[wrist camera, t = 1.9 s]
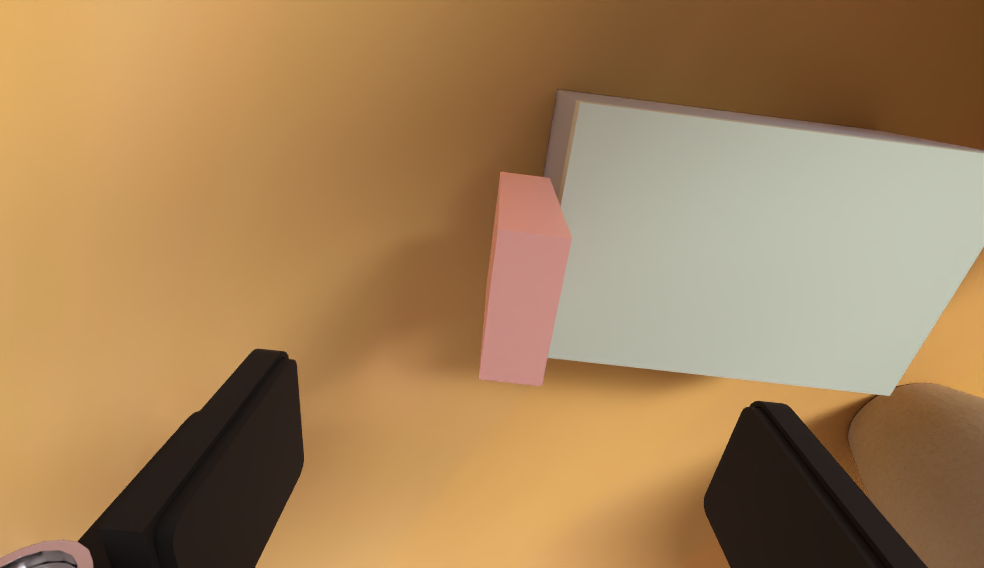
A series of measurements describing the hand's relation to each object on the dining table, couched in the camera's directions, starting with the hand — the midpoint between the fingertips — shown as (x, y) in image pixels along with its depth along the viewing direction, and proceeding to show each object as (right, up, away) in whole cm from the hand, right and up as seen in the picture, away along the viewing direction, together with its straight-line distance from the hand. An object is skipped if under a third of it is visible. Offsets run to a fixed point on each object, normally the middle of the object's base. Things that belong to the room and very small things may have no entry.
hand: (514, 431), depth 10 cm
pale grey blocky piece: (+9, +5, +11) cm, 15 cm away
